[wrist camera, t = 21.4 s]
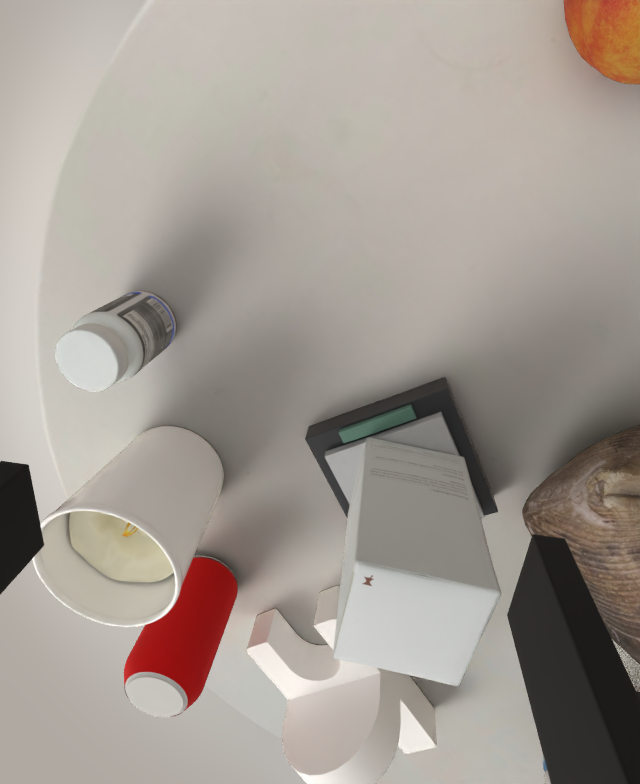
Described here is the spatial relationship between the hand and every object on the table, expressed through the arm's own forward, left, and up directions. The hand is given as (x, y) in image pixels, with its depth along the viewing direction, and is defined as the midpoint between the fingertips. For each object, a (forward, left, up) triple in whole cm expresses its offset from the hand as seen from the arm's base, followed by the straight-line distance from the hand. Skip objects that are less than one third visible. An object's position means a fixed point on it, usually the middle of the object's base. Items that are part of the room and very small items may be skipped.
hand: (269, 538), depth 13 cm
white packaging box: (+14, -1, -22) cm, 26 cm away
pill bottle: (-5, -14, -25) cm, 29 cm away
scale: (+13, -1, -24) cm, 28 cm away
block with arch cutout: (+33, -15, -25) cm, 43 cm away
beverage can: (+18, -22, -25) cm, 38 cm away
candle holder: (+7, -19, -25) cm, 32 cm away
